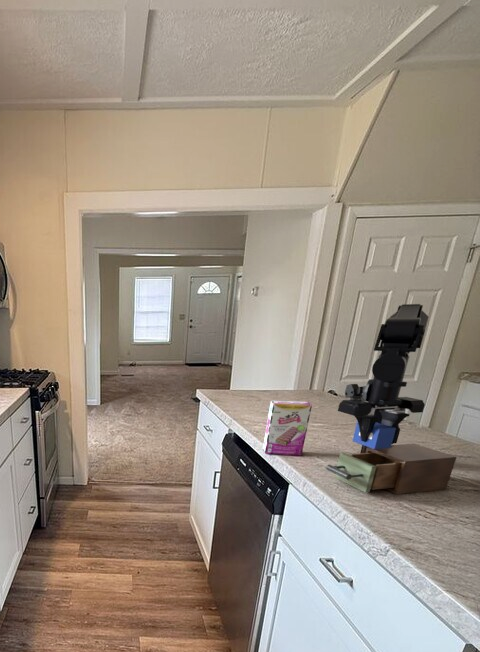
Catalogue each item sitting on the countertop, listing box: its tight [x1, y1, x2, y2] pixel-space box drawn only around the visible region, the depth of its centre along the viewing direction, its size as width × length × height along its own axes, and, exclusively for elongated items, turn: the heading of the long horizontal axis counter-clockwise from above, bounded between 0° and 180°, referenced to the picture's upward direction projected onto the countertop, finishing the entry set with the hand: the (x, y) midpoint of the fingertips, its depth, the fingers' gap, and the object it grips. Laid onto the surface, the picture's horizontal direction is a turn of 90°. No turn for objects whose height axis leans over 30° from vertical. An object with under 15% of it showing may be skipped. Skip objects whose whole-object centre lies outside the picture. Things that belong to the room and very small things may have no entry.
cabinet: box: [366, 443, 458, 495], centre depth 103 cm, size 15×12×9 cm
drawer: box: [325, 452, 402, 494], centre depth 101 cm, size 18×10×7 cm, turn 100°
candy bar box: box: [262, 400, 313, 456], centre depth 126 cm, size 11×5×16 cm, turn 78°
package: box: [352, 421, 396, 449], centre depth 99 cm, size 7×4×5 cm, turn 10°
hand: (372, 440), depth 99 cm, fingers closed on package, 4 cm apart
